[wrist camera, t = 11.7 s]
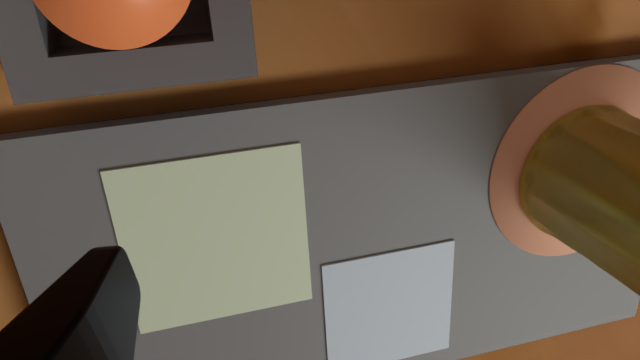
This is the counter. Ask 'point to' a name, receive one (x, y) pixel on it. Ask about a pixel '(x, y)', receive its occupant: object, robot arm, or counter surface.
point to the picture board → (323, 218)
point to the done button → (114, 20)
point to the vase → (589, 188)
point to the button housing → (124, 54)
